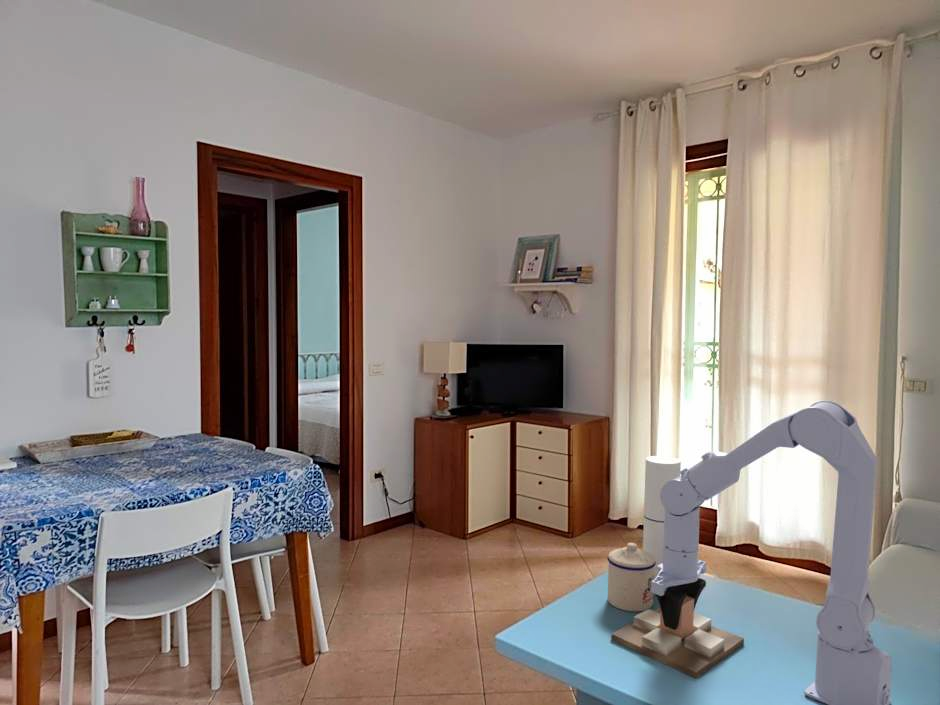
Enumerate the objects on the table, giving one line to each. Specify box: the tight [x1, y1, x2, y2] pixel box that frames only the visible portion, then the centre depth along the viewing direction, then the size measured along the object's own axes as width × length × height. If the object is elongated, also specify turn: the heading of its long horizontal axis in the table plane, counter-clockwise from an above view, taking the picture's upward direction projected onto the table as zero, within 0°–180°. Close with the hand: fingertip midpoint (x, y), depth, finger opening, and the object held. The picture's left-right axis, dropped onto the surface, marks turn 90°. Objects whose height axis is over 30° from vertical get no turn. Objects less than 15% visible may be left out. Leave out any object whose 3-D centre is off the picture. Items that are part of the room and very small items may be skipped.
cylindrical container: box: [642, 455, 682, 579], centre depth 145 cm, size 7×7×25 cm
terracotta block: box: [660, 596, 695, 639], centre depth 117 cm, size 4×4×6 cm
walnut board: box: [610, 607, 745, 679], centre depth 117 cm, size 16×16×2 cm
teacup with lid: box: [607, 542, 656, 612], centre depth 133 cm, size 12×9×12 cm
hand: (677, 623), depth 117 cm, fingers closed on terracotta block, 4 cm apart
